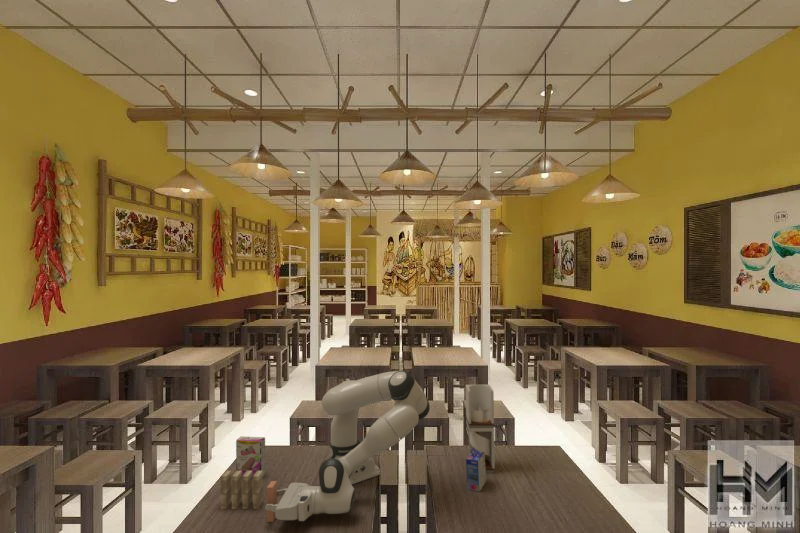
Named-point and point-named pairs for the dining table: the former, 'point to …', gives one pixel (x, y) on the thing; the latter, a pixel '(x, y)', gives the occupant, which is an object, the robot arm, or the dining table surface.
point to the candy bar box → (250, 454)
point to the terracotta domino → (271, 499)
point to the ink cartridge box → (475, 470)
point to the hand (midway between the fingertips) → (270, 499)
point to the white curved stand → (481, 422)
